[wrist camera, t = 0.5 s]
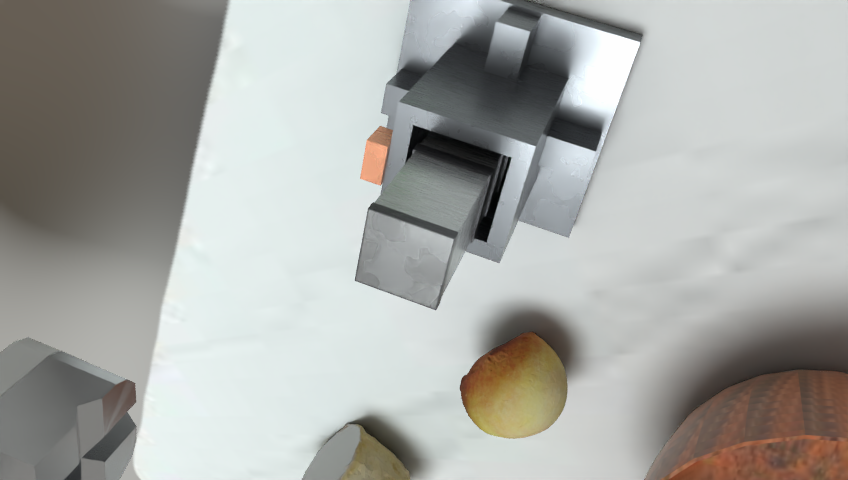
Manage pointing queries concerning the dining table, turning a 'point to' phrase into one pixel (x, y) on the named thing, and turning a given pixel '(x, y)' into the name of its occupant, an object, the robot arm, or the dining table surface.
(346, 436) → the yellow rounded chunk
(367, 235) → the column
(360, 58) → the dining table surface
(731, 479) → the bowl
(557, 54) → the stand
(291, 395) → the dining table surface
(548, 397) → the fruit
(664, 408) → the dining table surface
